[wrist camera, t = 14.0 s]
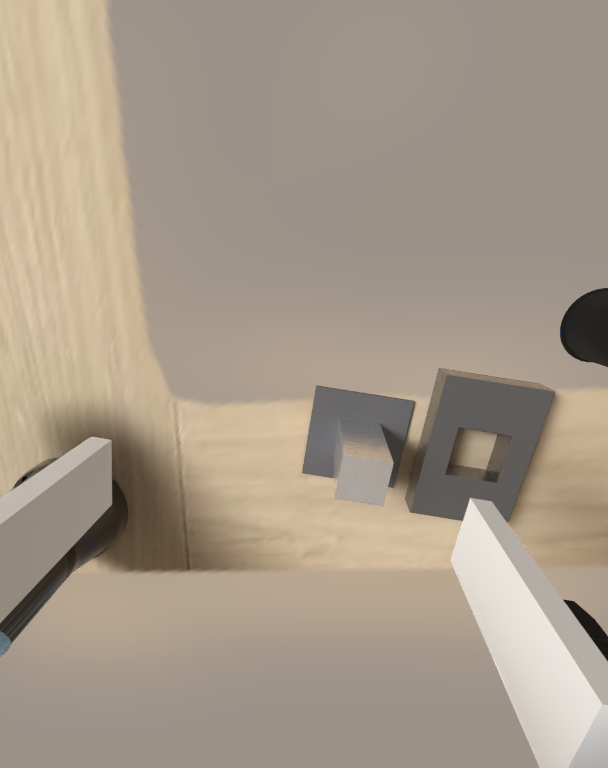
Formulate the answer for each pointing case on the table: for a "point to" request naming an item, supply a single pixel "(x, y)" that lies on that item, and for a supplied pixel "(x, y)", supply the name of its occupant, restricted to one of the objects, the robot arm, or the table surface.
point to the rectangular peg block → (361, 462)
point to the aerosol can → (587, 328)
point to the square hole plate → (483, 413)
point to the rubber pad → (356, 407)
